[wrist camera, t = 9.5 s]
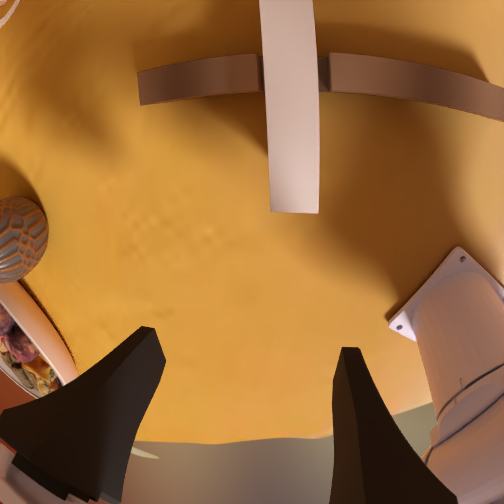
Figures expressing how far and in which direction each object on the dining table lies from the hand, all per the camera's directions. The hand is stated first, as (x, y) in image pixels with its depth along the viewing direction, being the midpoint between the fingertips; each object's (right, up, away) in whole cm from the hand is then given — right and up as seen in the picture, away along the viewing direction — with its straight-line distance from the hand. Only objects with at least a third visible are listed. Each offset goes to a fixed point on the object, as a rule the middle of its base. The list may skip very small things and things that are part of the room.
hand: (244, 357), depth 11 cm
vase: (-20, +7, +11) cm, 24 cm away
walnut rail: (+5, +13, +2) cm, 14 cm away
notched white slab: (+3, +14, +2) cm, 14 cm away
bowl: (-36, -7, +22) cm, 43 cm away
